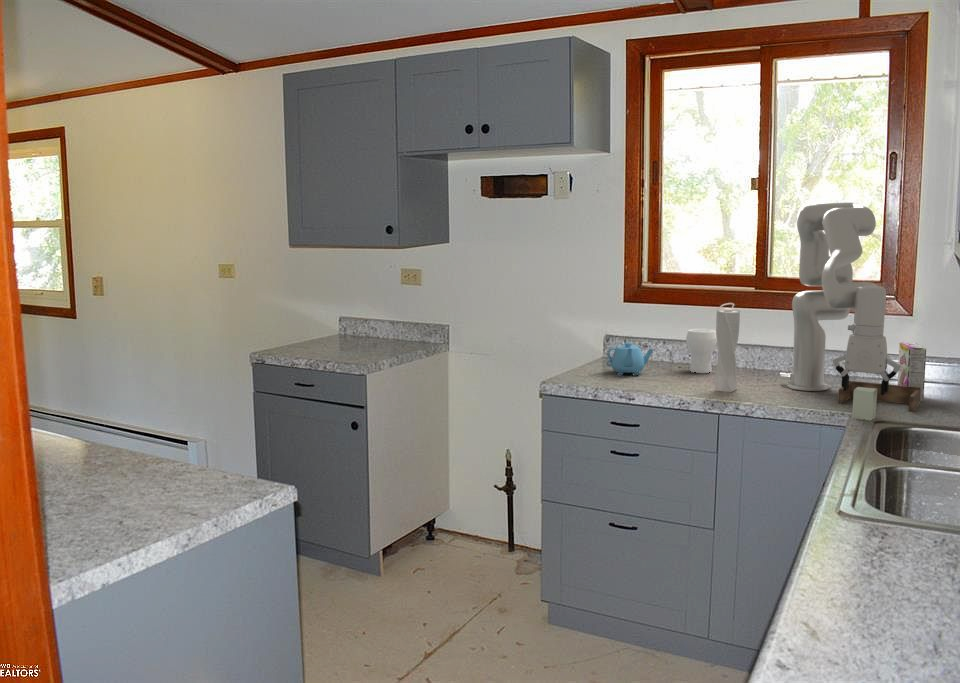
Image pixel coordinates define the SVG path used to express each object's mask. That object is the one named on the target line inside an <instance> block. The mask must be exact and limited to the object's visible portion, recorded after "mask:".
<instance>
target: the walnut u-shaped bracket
mask: <svg viewBox="0 0 960 683" xmlns="http://www.w3.org/2000/svg"><path fill="white" fill-rule="evenodd" d="M857 387H865V388H875V389H877V401H878V402H887V403H897V404H905V405H906V404H907V405H908V406H909V407H908V412H909V413H914V411H916V409H917V408H918V407H919V406H920V405H921V402H920V393H921V387H912V386H901V385H898V384H890V383H889V386H888V392H886V393H885V394H884V395H881V383H880V382H879V383H877V382H866V381H858V380H849V388H848V389H847V390H846V391H843V387H842V386H841V387H840V388H839V389H838V398H837V399H838V400H837V404H838V405H843V404H844V403H846V402H847V401H848V400H850V399H853V395H854V389H856V388H857Z"/></svg>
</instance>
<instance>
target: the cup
mask: <svg viewBox="0 0 960 683" xmlns="http://www.w3.org/2000/svg"><path fill="white" fill-rule="evenodd" d="M685 340H686V341H685V342H686V346H687V350H688V351H689V353H690V361H691V362H690V367H689V372H690V371H691V373H694V372H696V373H695V374H708V373H709V372H710V373H712V371H713V369H712V363H711V362H712V361H711V360H712V355H713V353H714V351H715V350H716V346H717V339H716V329H709V328H691V329H688V330H687V333H686V338H685ZM710 373H709V374H710Z"/></svg>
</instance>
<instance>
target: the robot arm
mask: <svg viewBox="0 0 960 683" xmlns="http://www.w3.org/2000/svg"><path fill="white" fill-rule="evenodd" d="M876 222H877V220H876V217H875V214H874V212H873V211H872V210H871V208H869V207H867V206H865V205H862V204H860V203H856V202H847V201H846V202H812V203H807V204H804V205H803V206H800V208H799V210H798V212H797V216H796V226H797V231H798V235H799V241H800V242H799V243H800V247H799V248H800V250H799V251H800V252H799V265H798V266H799V268H798V269H799V270H798V271H799V272H798V276H799V277H798V278H799V281H800V284H802V285H803V286H807V287H822V289H820V290H817V289H816V290H804V291H799V292H797V293H796V294H795V295H794V296H793V298H792V303H791V306H792V307H791V308H792V316H793V326H794V328H793V352H792V353H793V355H792V356H793V357H792V359H793V360H792V372H789V373H786V372H780V373H779V379H780V380H783V381H784V380H788V382H787V383H786V387H787V388H789V389H791V390H792V389H793V390H796V391H803V392H804V391H806V392H812V391H813V392H820V391H822V392H823V391H827V390H829V389H830V388H829V384H828V383H825V380H824V379H825V378H824V377H825V362H826V359H825V358H826V340H827V339H826V338H827V336H826V331H825V330H824V328H823V326H822V325H821V324H820V323H819V321H839V320H845V319H847V317H848V316H849V314H850V311H851V310H854V314H853V315H854V317H853V324H850V325H848V326H847V330H848V331H851V332H852V334H849V337H848V341H847V345H846V351H845V354H843V355H840V356H838V357H835V358H834V359H832V364H833V365H834V367H835V370H836V371H837V372H838V373H839V375H840V376H841V387H843V391H846V390H847V389H848V388H849V381H850V375H849V373H851V372H854V373H863V374H864V373H865V374H872V375H873V374H875V375H880V376H881V379H882V380H881V383H880V384H881V395H884V394H885V393H886V392H888V386H889V384H890V380H891V379H892V378H893V377H895V376H896V375H898V371H899V369H900V368H901V365H899V364H898V363H899V362H897V361H894V360H893V359H890V358H889V357H888V343H887V338H886V336H884V330H885V329H884V328H885V327H884V326H885V316H886V302H887V301H886V299H887V290H886V288H885V287H884V286H880V285H877V284H876V283H874V282H871V281H870V282H869V281H868V282H867V281H853V278H854V277H853V274H854V273H853V272H854V271H853V265H852V263H854V262H856V261H857V260H858V259H859V258H861V256H862V254H863V246H862V243H861V240H860V238H859V237H868V236H870V235H872V234H873V232H875V229H876V226H877V225H876V224H877V223H876ZM842 361H843V362H844V367H843V366H842V365H841V362H842ZM888 365H889V366H890V367H892V368H893V369H892V371H891V372H889V373H888V371H887V368H888Z"/></svg>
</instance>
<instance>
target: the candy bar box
mask: <svg viewBox="0 0 960 683" xmlns="http://www.w3.org/2000/svg"><path fill="white" fill-rule="evenodd" d="M898 344H899V345H898V362H897V363H898V364H899V365H901V368H900V369H899V371H898V372H897V385H901V386H912V387H921V393H920V403H921V402H923V403H924V400H925V399H924V398H925V382H926V381H925V380H926V378H925V377H926V363H927V362H926V359H927V357H926V356H927V348H926V347H924V346H922V345H920V344H918V343H916V342H905V341H903V342H899V343H898Z"/></svg>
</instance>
